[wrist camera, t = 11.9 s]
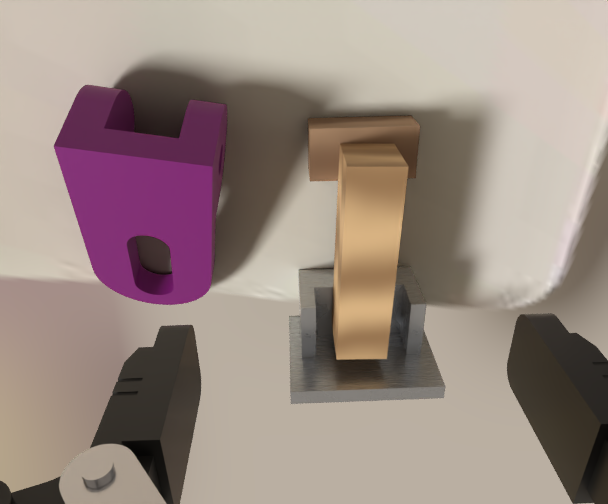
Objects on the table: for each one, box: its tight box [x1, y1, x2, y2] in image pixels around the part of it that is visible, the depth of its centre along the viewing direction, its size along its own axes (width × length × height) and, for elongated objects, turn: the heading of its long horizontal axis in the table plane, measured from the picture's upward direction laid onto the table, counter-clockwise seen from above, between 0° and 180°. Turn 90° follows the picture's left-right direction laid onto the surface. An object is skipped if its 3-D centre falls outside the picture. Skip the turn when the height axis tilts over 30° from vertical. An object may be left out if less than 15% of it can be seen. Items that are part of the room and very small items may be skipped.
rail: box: [332, 144, 409, 360], centre depth 40 cm, size 16×4×5 cm, turn 179°
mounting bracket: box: [54, 85, 227, 305], centre depth 41 cm, size 10×8×18 cm
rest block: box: [308, 115, 420, 181], centre depth 40 cm, size 4×8×3 cm, turn 91°
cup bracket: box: [289, 266, 445, 404], centre depth 44 cm, size 6×12×10 cm, turn 91°
